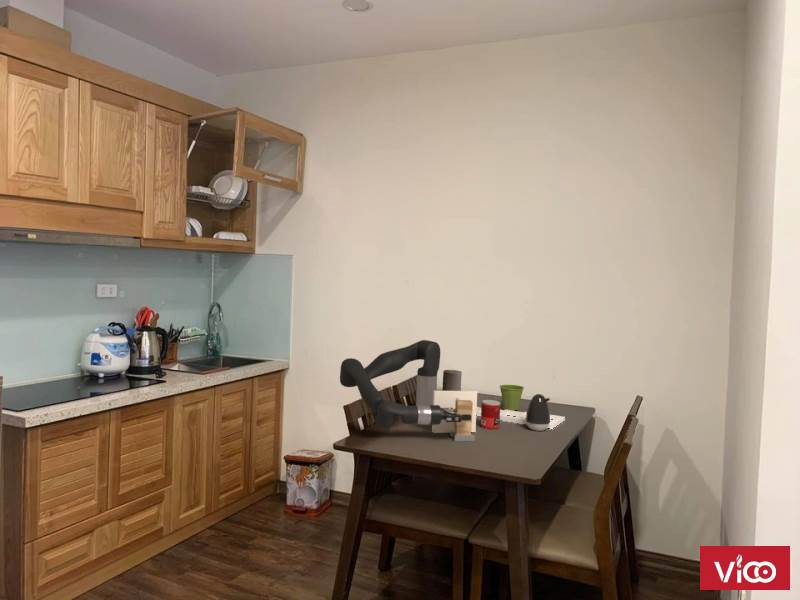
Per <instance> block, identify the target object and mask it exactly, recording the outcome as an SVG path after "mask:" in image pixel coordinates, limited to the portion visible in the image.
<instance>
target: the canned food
mask: <svg viewBox="0 0 800 600" xmlns="http://www.w3.org/2000/svg"><path fill="white" fill-rule="evenodd" d="M480 408H481V417H480V427H481V428H482V427H483V429H485V428H487V429H486V430H497V429H499V428H500V424H501V423H500V410H501V401H498V400H494V399H484V400H481V407H480Z"/></svg>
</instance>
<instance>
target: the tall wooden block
mask: <svg viewBox="0 0 800 600" xmlns="http://www.w3.org/2000/svg"><path fill="white" fill-rule="evenodd" d="M472 408H473V402H472V401H471V400H456V403H455V412H456V413H457V414H470V415H471V420H462V421H461V422H455V426H454V435H472V433H471V429H472ZM458 418H459V417H457V419H458Z"/></svg>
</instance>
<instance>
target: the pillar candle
mask: <svg viewBox="0 0 800 600" xmlns="http://www.w3.org/2000/svg"><path fill="white" fill-rule="evenodd" d="M442 372H443V374H442V390H441V391H462V390H461V389H462V388H461V387H462V375H463V374H462V371H460V370H456V369H453V368H451V369H444V370H443V371H442Z"/></svg>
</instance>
